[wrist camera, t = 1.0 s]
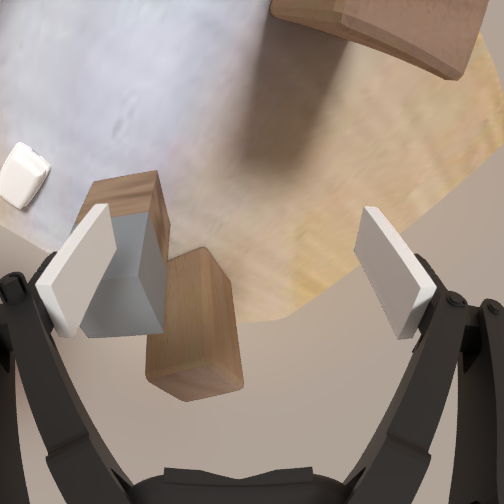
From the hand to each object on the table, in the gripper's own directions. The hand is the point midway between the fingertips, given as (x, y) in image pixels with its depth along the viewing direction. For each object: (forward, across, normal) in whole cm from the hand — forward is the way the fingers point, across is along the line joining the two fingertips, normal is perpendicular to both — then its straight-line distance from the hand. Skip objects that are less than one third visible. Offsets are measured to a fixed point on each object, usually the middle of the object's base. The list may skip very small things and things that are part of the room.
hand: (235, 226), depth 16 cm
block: (+28, -7, -24) cm, 38 cm away
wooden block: (+22, +8, +18) cm, 30 cm away
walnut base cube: (+25, -14, -10) cm, 30 cm away
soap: (+23, -30, -4) cm, 38 cm away
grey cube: (+16, -13, -12) cm, 24 cm away
